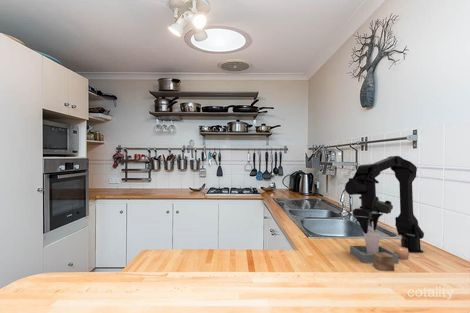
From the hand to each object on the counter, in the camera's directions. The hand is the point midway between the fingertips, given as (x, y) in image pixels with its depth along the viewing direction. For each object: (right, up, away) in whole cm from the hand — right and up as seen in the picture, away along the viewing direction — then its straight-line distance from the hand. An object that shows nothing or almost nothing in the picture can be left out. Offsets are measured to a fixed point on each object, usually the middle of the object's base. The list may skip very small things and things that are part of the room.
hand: (370, 231), depth 105 cm
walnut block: (-2, -10, -13) cm, 16 cm away
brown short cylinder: (+12, -11, -1) cm, 16 cm away
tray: (0, -10, -1) cm, 11 cm away
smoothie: (0, -10, -1) cm, 10 cm away
